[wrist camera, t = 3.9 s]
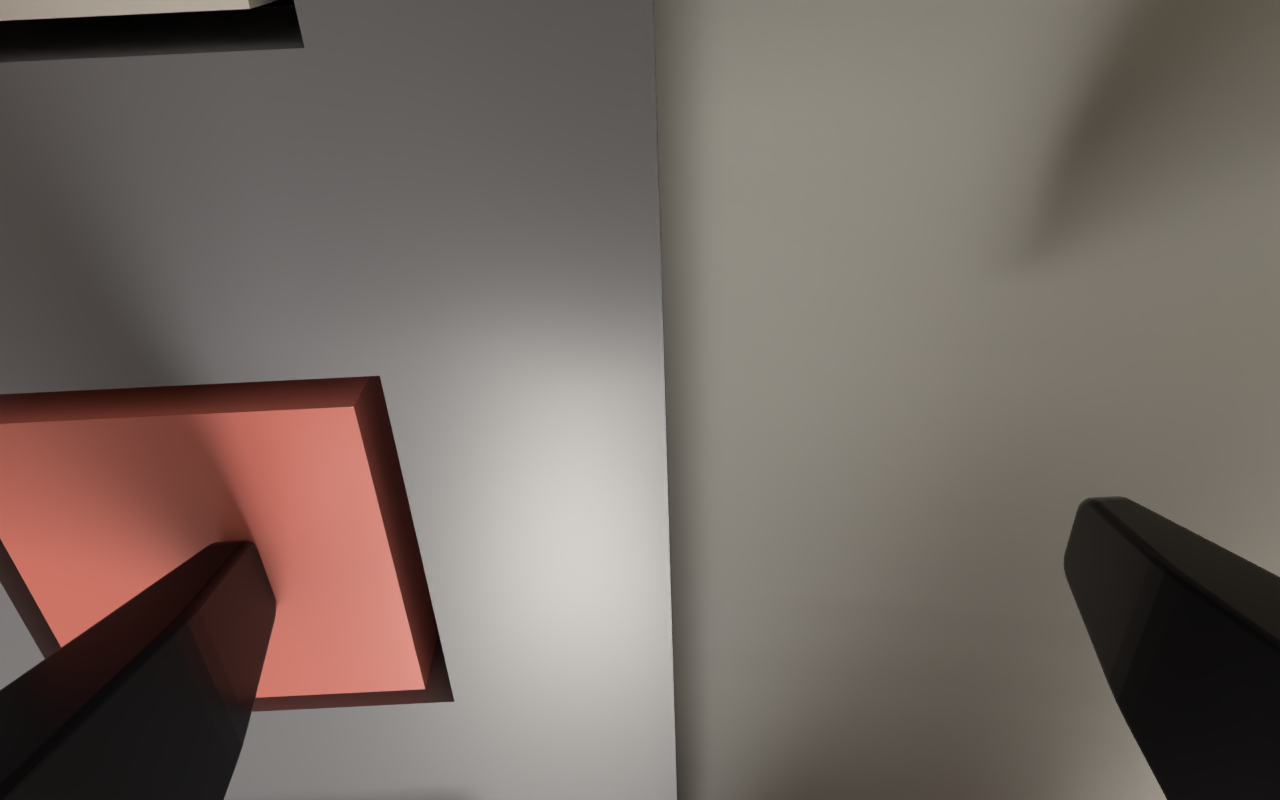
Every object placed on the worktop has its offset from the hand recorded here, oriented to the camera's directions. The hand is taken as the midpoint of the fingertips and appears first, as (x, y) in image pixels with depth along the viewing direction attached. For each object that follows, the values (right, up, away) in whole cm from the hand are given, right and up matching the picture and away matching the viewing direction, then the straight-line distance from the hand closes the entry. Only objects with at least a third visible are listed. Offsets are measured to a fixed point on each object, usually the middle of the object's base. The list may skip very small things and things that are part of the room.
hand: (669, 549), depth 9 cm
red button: (-5, +1, +2) cm, 6 cm away
